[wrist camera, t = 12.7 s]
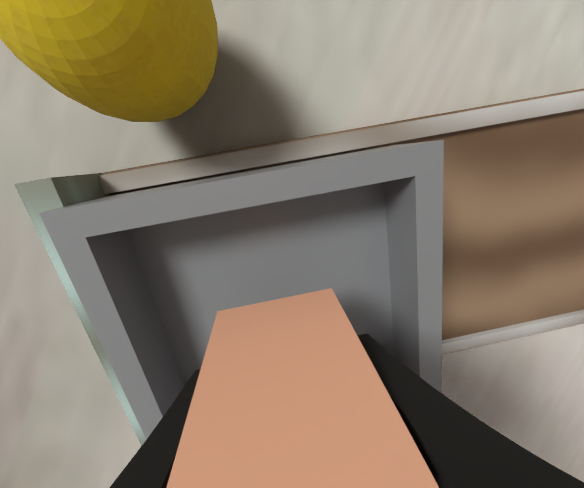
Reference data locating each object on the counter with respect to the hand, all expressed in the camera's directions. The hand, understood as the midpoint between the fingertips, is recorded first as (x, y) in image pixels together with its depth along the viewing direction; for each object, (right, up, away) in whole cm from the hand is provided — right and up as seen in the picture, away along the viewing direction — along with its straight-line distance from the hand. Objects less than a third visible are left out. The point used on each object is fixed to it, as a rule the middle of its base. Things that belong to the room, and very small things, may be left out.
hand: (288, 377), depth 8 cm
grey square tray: (-1, +2, +6) cm, 7 cm away
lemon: (-5, +12, +4) cm, 14 cm away
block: (0, 0, +2) cm, 2 cm away
